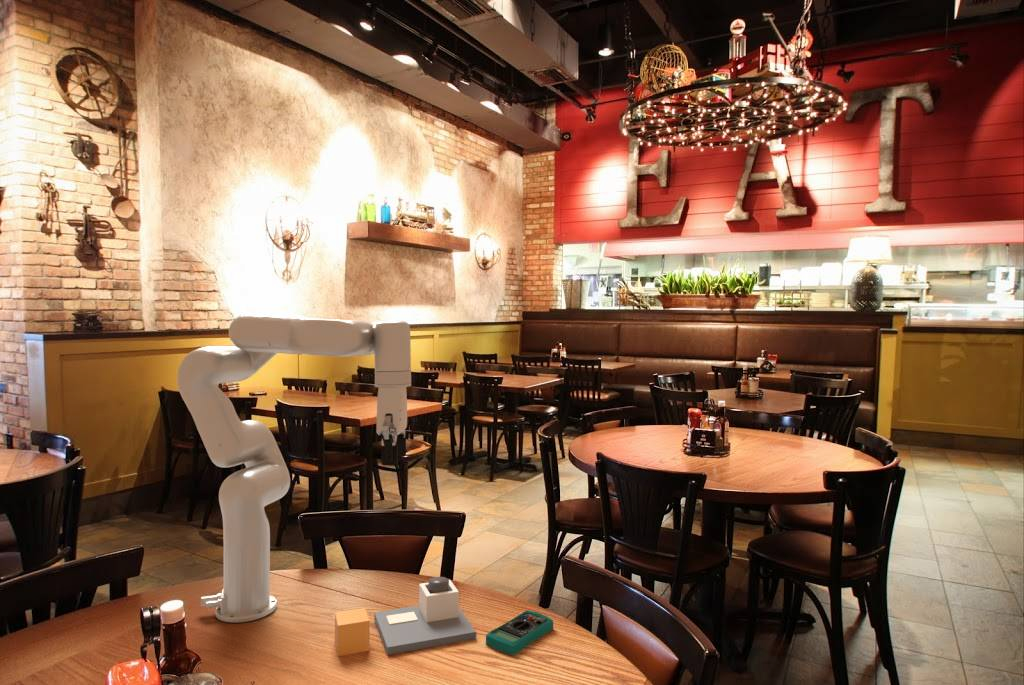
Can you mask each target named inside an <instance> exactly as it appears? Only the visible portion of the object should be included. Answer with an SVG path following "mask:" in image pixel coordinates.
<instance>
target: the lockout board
mask: <svg viewBox="0 0 1024 685" xmlns="http://www.w3.org/2000/svg"><path fill="white" fill-rule="evenodd" d="M418 586H419V587H418V591H419V593H418V605H415V606H406V607H400V608H392V609H388V610H381V611H374V618H373V619H374V623H375V625H376V628H377V630H378V634H379V635H380V638H381V639H380V640H381V641H382V644H383V647H384V650H385V653H386V655H387V656H390V655H395V654H400V653H406V652H407V653H408V652H413V651H417V650H424V649H429V648H434V647H440V646H445V645H450V644H456V643H462V642H466V641H467V642H468V641H473V640H476V639H477V631H476V629H475V628H474V627H473V626H472V624H471V622H470V621H469V619H468V618H467V616H466V615H465V613H464V612H463V611H462V609H461V608H460V605H459V604H460V600H459V599H460V598H459V597H460V596H459V595H460V592H459V590H458V589H457V587H456V586H455V585H454V583H453V581H452V580H451V579H449V591H446V592H439V593H433V594H430V593H429V591H428V587H429V581H428V582H424V583H423V582H422V583H419V584H418Z"/></svg>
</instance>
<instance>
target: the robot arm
mask: <svg viewBox="0 0 1024 685" xmlns="http://www.w3.org/2000/svg"><path fill="white" fill-rule="evenodd" d="M228 336H229V339H230V341H231V343H232V344H233V345H213V346H212V345H211V346H204V347H199V348H196V349H194V350H192V351H190V352H189V353H187V354H186V355H185V356H184V357H183V359H182V360H181V362H180V364H179V366H178V369H177V374H176V382H177V383H176V384H177V388H178V391H179V394H180V396H181V398H182V401H184V403H185V405H186V408H187V410H188V411H189V412H190V414H191V416H192V419H193V422H194V424H195V426H196V430H197V431H198V434H199V435H200V438H201V441H202V442H203V445H204V447H205V449H206V452H207V455H208V457H209V458H210V460H211V462H212V463H213V464H214V465H215V466H216V467H219V468H231V467H236V466H240V465H242V464H244V466H245V467H244V468H241V469H240V470H237V471H235V472H233V473H232V474H230V475H228V476H227V477H226V478H225V479H224V480H223V481H222V483H221V485H220V487H219V491H218V502H219V506H220V507H219V508H220V512H221V515H222V528H223V530H222V532H223V534H222V535H223V536H222V537H223V538H222V539H223V540H222V541H223V573H222V575H223V580H222V581H223V588H222V590H221V592H217V593H216V595H203V596H201V597H200V607H203V606H205V609H206V610H207V609H212V608H215V617H216V618H217V619H218V620H220V621H221V622H226V623H247V622H250V621H251V622H252V621H255V620H259V619H261V618H264V617H267V616H268V615H270V614H272V613H273V612H274V611H275V610H276V609H277V606H278V601H277V599H276V597H275V596H273V595H271V592H270V588H271V586H270V585H271V576H270V574H271V573H270V572H271V570H270V569H271V568H270V567H271V530H270V522H269V519H268V517H267V514H266V511H265V507H266V506H268V505H270V504H272V503H274V502H276V501H277V502H278V500H280V499H282V498H283V497H284V496H285V495H287V493H288V491H289V489H290V487H291V477H290V476H291V475H290V471H289V469H288V467H287V463H286V462H285V460H284V457H283V455H282V452H281V450H280V448H279V446H278V443H277V441H276V439H275V437H274V434H273V433H272V431H271V430H270V428H268V426H267V425H265V424H264V423H263V422H261V421H259V420H255V419H254V420H253V419H247V420H242V421H241V419H240V417H239V416H238V414H237V412H236V409H235V407H234V405H233V402H232V401H231V400H230V397H228V396H227V395H226V393H224V392H223V391H222V389H221V388H220V387H219V384H227V383H236V382H238V383H239V382H243V381H246V380H247V379H249V378H251V377H253V376H254V375H255V374H256V373H258V371H260V369H262V368H263V367H264V366H265V365H267V363H268V362H269V361H271V359H273V358H274V357H275V356H276V355H277V354H285V355H287V354H288V355H289V354H290V355H298V356H300V355H309V356H310V355H311V356H324V357H339V358H340V357H341V358H343V357H344V358H346V357H347V358H348V357H350V358H351V357H361V356H362V357H363V356H371V355H374V387H375V388H378V389H377V390H378V391H377V398H376V399H377V400H376V401H377V402H376V434H377V435H378V436H381V442H380V444H381V450H380V452H381V466H397V465H398V463H399V457H405V456H406V455H407V437H406V435H407V434H406V429H407V427H408V398H407V396H408V395H407V394H408V393H407V387H411V386H412V363H411V361H412V357H411V356H412V354H411V352H412V351H411V349H412V348H411V345H412V344H411V326H410V324H409V323H408V322H407V321H402V320H401V321H400V320H384V321H383V320H381V321H378V322H373V321H367V320H366V321H365V320H354V319H350V320H349V319H324V318H307V317H305V316H303V315H293V314H292V315H291V314H273V313H271V314H269V313H252V312H251V313H245V314H242V315H239V316H237V317H235V318H234V319H233V321H232V322H231V323H230V324H229V328H228Z"/></svg>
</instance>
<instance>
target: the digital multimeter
mask: <svg viewBox="0 0 1024 685" xmlns="http://www.w3.org/2000/svg"><path fill="white" fill-rule="evenodd" d="M552 630H554V620H553V619H552V618H551V617H549V616H547V615H545V614H542V613H540V612H537V611H534V610H525V611H523V612H522V613H520V614H519V615H517V616H515V617H514V618H512V619H510V620H509V621H507V622H505V623H503V624H502V625H500V626H498V627H495V628H494V629H492V630H490V631H489V632H488V633H486V634H485V644H486V645H487V646H489V647H491V648H493V649H495V650H497V651H499V652H502V653H504V654H508V655H510V656H515V655H516V654H518V653H520V652H521V651H522V650H524V649H525V648H527V646H530V645H531V644H532V643H533V642H535V641H536V640H538V639H540V638H542V637H543V636H544V635H546V634H549V632H551V631H552Z"/></svg>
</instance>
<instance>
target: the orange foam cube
mask: <svg viewBox="0 0 1024 685" xmlns="http://www.w3.org/2000/svg"><path fill="white" fill-rule="evenodd" d="M370 626H371V625H370V618H369V615H368V612H367V610H366V607H362V608H355V609H347V610H342V611H341V610H340V611H336V612H334V645H335V649H336V655H337V657H340V656H346V655H353V654H358V653H363V652H368V651H370Z"/></svg>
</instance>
